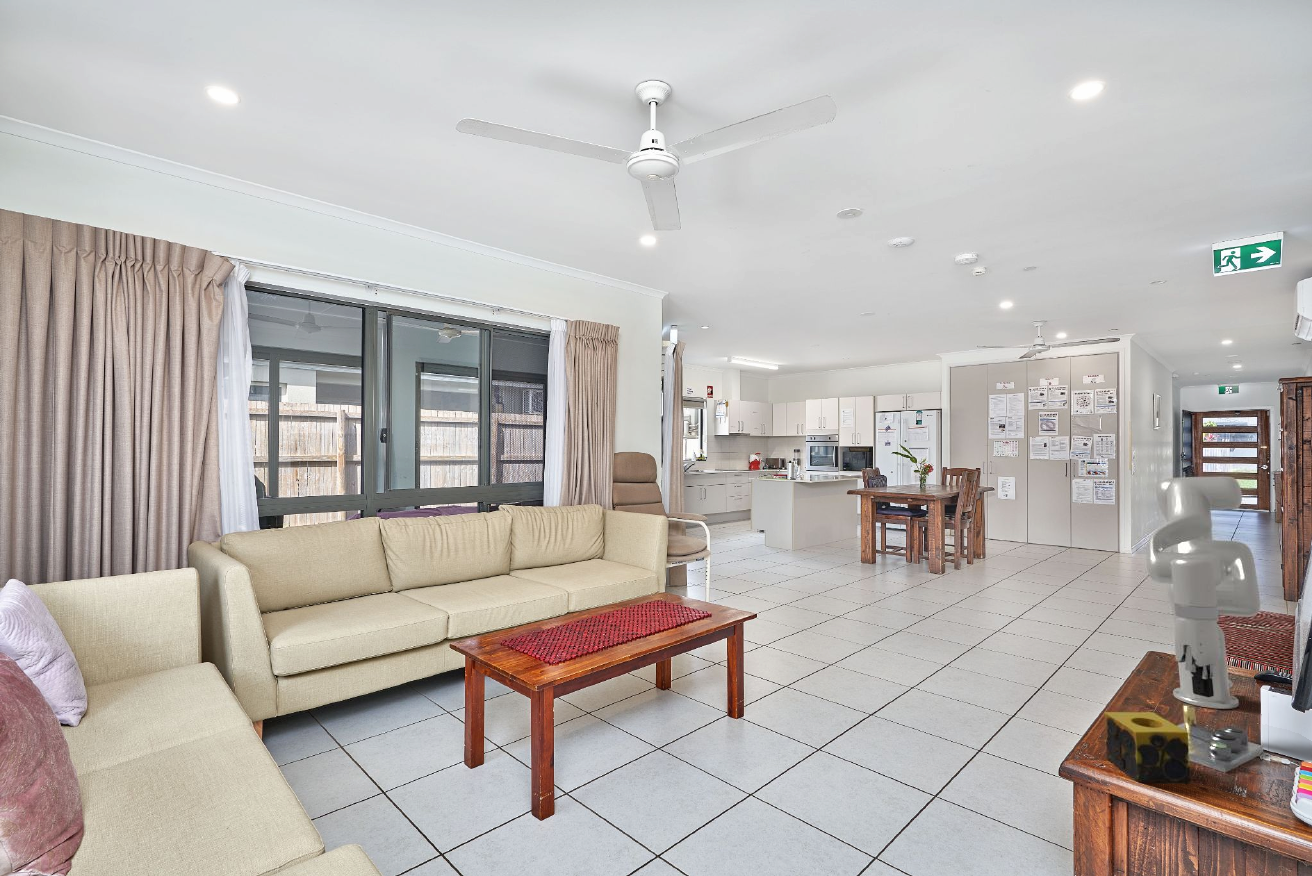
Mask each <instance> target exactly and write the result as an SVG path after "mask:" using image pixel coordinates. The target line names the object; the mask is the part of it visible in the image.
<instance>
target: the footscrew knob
mask: <svg viewBox="0 0 1312 876" xmlns="http://www.w3.org/2000/svg"><path fill="white" fill-rule="evenodd" d="M1182 710H1183V723H1184V725H1185V731H1187V733H1188V734H1190V735H1193V736H1196V737H1198V738H1201V739H1203V740H1206V741H1208V742H1209V743H1210V742H1220V743H1223V744H1225V745H1227V746H1229V747H1230V748H1231V752H1239V751H1241V740H1240V738H1238V737H1237V736H1235V735H1234V734H1233V733H1230V732H1226V731H1222V730H1220V729H1219V730H1216V729H1215V730H1212V729H1209V728H1206V727H1204V726H1201V725H1199V724H1197V719H1196V709H1195V705H1192V704H1183V705H1182Z"/></svg>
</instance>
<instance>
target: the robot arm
mask: <svg viewBox="0 0 1312 876" xmlns="http://www.w3.org/2000/svg"><path fill="white" fill-rule="evenodd" d="M1155 494H1156V499H1157V503H1158V507H1159V509H1160V511H1161V513H1162V515H1163V517H1164V518H1165V520H1166V522H1164V523H1163V524H1162V525H1160V526H1159V527H1158V528H1157V529H1156V530H1155V531H1154V532H1153V533H1151V535H1150V536H1149V538H1148V541H1147V545H1146V568H1147V573H1148V576H1149V578H1150V579H1151V580H1152V581H1154V582H1157V583H1159V584H1167V595H1168V599H1169V601H1170V605H1171V610H1172V614H1173V620H1174V621H1173V622H1174V627H1175V628H1174V653H1175V661H1176V662H1177V663H1178V674H1179V685H1180V686H1179V687H1176V688H1174V689H1173V692H1172V693H1173V694H1172V695H1173V697H1175V698H1176V699H1177V700H1179V701H1182V702H1184V703H1185V704H1188V705H1192V706H1197V707H1202V708H1210V709H1218V710H1219V709H1221V710H1222V709H1223V710H1225V709H1227V710H1228V709H1235V708H1237V707H1239V705H1240V703H1239V699H1238V698H1237V697H1235V696H1234V695H1231V694H1230V688H1231V687H1233V686H1234V683H1233V681H1231V680H1230V679H1229V673H1228V662H1227V661H1228V660H1227V649H1226V639H1225V634H1224V630H1223V629H1222V627H1220V625H1219V624H1218V622H1220V621H1219V619H1220V617H1219V616H1229V617H1240V618H1241V617H1242V618H1244V617H1245V618H1248V617H1249V618H1250V617H1251V618H1252V617H1255V616H1257V615H1258V614H1259V612H1260V609H1261V599H1260V597H1261V596H1260V590H1259V585H1258V577H1257V571H1256V563H1255V560H1254V555H1253V552H1252V550H1251V548H1250V546H1248V545H1247V544H1246V543H1244V542H1241V541H1236V540H1223V539H1222V540H1221V539H1220V540H1214V539H1213V533H1212V532H1213V531H1212V527H1213V521H1212V511H1211V510H1238V508H1240V506H1241V504H1242V501H1243V494H1242V487H1241V486H1240V484H1239V481H1238V480H1237V479H1236V478H1234V477H1233V476H1225V475H1224V476H1220V475H1219V476H1188V477H1187V476H1185V477H1182V476H1181V477H1170V478H1167V479H1163V480H1161V481H1159V482H1158V483H1157V484H1156V487H1155ZM1170 547H1171V549H1172V550H1171V551H1172V552H1171V551H1170V552H1168V551H1165V550H1167V549H1168V548H1170ZM1164 551H1165V552H1164Z"/></svg>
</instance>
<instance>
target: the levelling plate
mask: <svg viewBox="0 0 1312 876" xmlns="http://www.w3.org/2000/svg"><path fill="white" fill-rule="evenodd" d="M1176 726H1178V727H1180V728H1181V729H1183V730H1185V725H1184V722H1183V723H1180V724H1177V725H1176ZM1221 731H1226V732H1230V733H1233V734H1234V735H1235V736H1237V737H1238V738H1240V740H1241V751H1239V752H1231V748H1230V747H1229V746H1227V745H1225V744H1223V743H1220V742H1210V743H1209V742H1208V741H1206V740H1203V739H1201V738H1198V737H1196V736H1193V735H1190V734H1188V743H1189V753H1188V755H1189V762H1192V763H1196V764H1199V765H1201V766H1205V767H1208V768H1211V769H1214V770H1217V771H1219V772H1223V773H1225V774H1226V773H1227V772H1229V771H1231V770H1234V769H1235V768H1238V767H1239V766H1242V765H1243V764H1245V763H1247V762H1249V761H1251V760H1253V759H1255V758H1257V757H1258V756H1260V754H1261V753H1262V752H1263V753H1264V746H1263V745H1260V744H1257V743H1254V742H1251V741H1248V732H1247V730H1245V729H1243V728H1240V727H1238V726H1232V725H1224V726H1222V727H1221ZM1261 755H1262V754H1261Z"/></svg>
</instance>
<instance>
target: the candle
mask: <svg viewBox="0 0 1312 876" xmlns="http://www.w3.org/2000/svg"><path fill="white" fill-rule="evenodd" d="M1103 715H1104V716H1103V717H1104V719H1105V726H1106V731H1107V734H1106V740H1105V746H1106V749H1105V750H1106V752H1105V753H1106V760H1108V761H1109V763H1112V764H1113V765H1114V767H1116V768H1118V769H1119V770H1120V771H1122V772H1123V773H1125V775H1128V776H1129V777H1131V779H1133V780H1134V781H1135V782H1137V783H1141V784H1142V783H1143V784H1145V783H1146V784H1147V783H1148V784H1150V783H1151V784H1152V783H1154V784H1155V783H1156V784H1157V783H1158V784H1178V782H1179V784H1180V783H1181V784H1191V782H1192V778H1191V774H1192V772H1191V768H1190V761H1189V755H1188V753H1189V743H1188V733H1187V731H1185V730H1183V729H1181V728H1180V727H1178V726H1177V725H1176V724H1174V723H1172V722H1171V721H1169V720H1168V719H1165V718H1163V717H1162V716H1160V715H1158V714H1157V713H1155V712H1151V711H1147V712H1145V711H1144V712H1143V711H1142V712H1137V711H1135V712H1134V711H1133V712H1131V711H1129V712H1128V711H1127V712H1126V711H1125V712H1123V711H1122V712H1121V711H1119V712H1118V711H1113V712H1112V711H1109V712H1108V711H1106V712H1104V714H1103Z"/></svg>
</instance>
